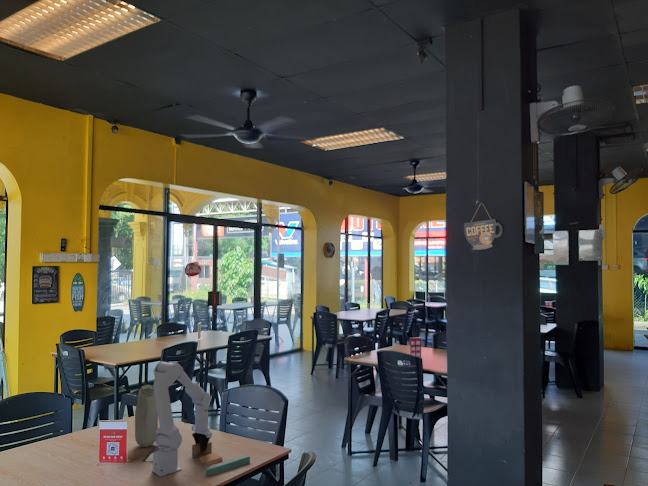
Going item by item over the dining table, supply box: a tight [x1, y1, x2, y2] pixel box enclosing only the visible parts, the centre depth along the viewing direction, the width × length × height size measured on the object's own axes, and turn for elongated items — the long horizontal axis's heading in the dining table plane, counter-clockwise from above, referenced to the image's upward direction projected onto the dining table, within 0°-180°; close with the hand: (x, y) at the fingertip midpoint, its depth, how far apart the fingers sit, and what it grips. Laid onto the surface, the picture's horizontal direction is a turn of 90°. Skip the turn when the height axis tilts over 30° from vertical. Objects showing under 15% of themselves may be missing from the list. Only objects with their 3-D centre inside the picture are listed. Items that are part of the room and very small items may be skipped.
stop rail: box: [205, 455, 251, 477], centre depth 205 cm, size 20×2×2 cm, turn 133°
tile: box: [199, 452, 223, 466], centre depth 213 cm, size 7×7×2 cm
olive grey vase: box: [134, 384, 159, 448], centre depth 232 cm, size 10×10×28 cm
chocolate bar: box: [141, 445, 159, 463], centre depth 221 cm, size 9×1×18 cm
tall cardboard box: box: [191, 440, 213, 459], centre depth 220 cm, size 8×3×5 cm, turn 133°
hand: (201, 450), depth 220 cm, fingers closed on tall cardboard box, 3 cm apart
